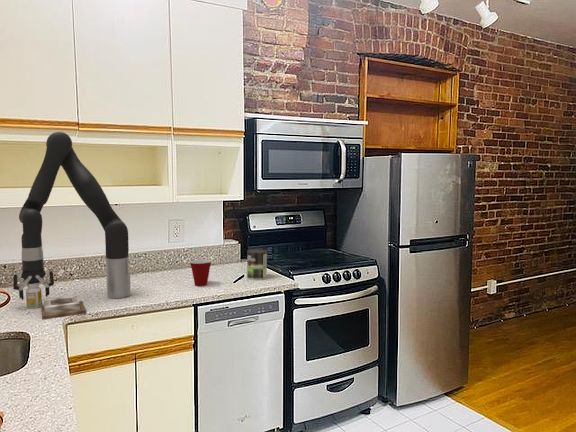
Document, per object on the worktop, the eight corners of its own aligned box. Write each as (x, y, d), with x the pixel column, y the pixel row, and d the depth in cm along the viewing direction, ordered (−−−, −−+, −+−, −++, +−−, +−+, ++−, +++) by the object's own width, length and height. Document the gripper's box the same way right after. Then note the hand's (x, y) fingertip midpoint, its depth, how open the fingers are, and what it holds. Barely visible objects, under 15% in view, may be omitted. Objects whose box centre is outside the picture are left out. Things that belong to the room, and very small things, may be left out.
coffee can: (255, 281, 226) (255, 253, 225) (242, 277, 234) (242, 250, 233) (271, 277, 233) (271, 251, 232) (258, 274, 241) (258, 248, 239)
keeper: (82, 303, 188) (82, 294, 187) (86, 313, 175) (85, 304, 175) (41, 309, 180) (40, 299, 180) (42, 319, 168) (41, 309, 168)
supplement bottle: (38, 303, 187) (37, 280, 186) (44, 306, 184) (43, 282, 183) (24, 306, 183) (23, 283, 182) (30, 309, 179) (28, 285, 178)
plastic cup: (210, 281, 226) (210, 257, 224) (213, 286, 215) (213, 262, 214) (188, 282, 222) (188, 258, 221) (190, 288, 212) (190, 263, 211)
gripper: (52, 254, 188) (54, 293, 190) (12, 258, 181) (14, 297, 183) (53, 258, 182) (55, 297, 183) (11, 261, 175) (13, 302, 176)
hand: (34, 297), depth 183 cm, fingers open, 8 cm apart
